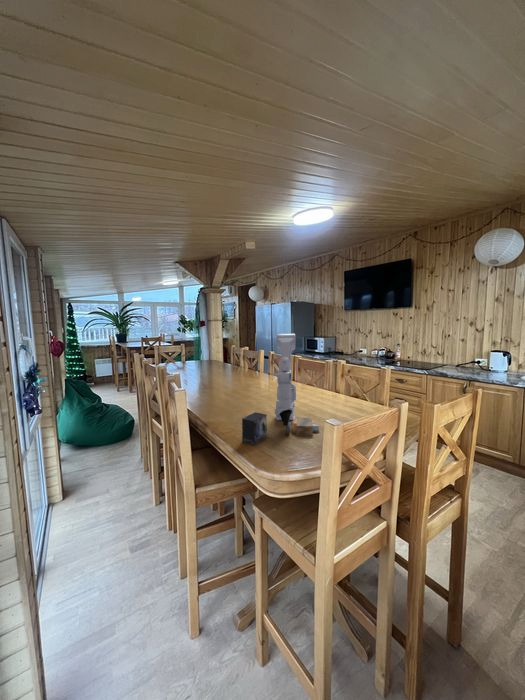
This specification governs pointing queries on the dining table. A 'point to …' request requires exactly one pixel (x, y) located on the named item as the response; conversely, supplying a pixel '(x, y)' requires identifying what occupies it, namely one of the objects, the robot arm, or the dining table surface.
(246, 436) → the small box
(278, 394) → the robot arm
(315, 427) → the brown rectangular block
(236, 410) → the dining table surface
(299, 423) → the block
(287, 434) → the keeper post
